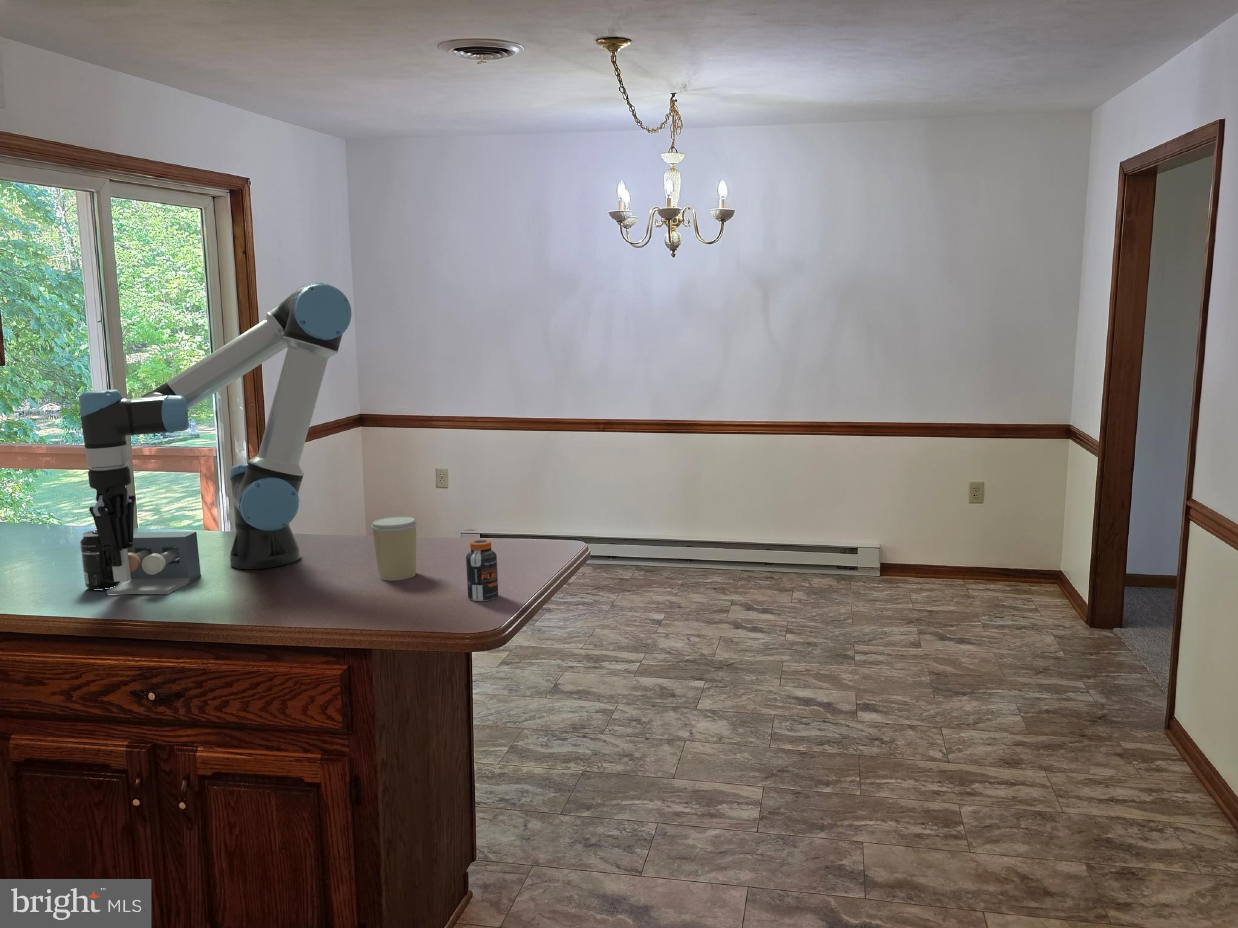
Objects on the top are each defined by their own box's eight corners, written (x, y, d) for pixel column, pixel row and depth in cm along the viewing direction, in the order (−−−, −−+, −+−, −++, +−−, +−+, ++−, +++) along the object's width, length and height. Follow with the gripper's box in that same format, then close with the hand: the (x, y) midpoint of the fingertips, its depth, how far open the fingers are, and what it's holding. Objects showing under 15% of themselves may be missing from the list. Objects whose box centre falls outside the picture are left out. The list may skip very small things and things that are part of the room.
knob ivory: (192, 558, 215) (190, 540, 214) (161, 574, 202) (159, 555, 201) (174, 558, 215) (172, 540, 214) (142, 574, 202) (140, 555, 201)
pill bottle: (485, 603, 188) (482, 546, 186) (461, 599, 191) (458, 542, 189) (504, 595, 193) (501, 539, 191) (481, 591, 196) (478, 536, 194)
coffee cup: (428, 571, 212) (425, 517, 211) (401, 583, 204) (397, 527, 202) (393, 568, 216) (389, 515, 215) (366, 579, 208) (361, 524, 206)
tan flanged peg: (168, 557, 216) (166, 539, 216) (136, 573, 203) (134, 554, 203) (151, 557, 216) (149, 540, 216) (117, 573, 204) (115, 554, 203)
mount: (200, 576, 215) (196, 531, 214) (168, 594, 201) (162, 547, 200) (143, 576, 216) (138, 532, 214) (107, 595, 202) (101, 548, 201)
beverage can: (115, 581, 213) (109, 527, 211) (126, 586, 208) (120, 531, 207) (81, 588, 209) (74, 533, 207) (91, 593, 204) (84, 537, 202)
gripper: (108, 462, 204) (122, 572, 208) (71, 473, 191) (86, 589, 195) (143, 461, 204) (156, 571, 207) (108, 471, 191) (122, 588, 195)
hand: (122, 580), depth 201 cm, fingers closed
